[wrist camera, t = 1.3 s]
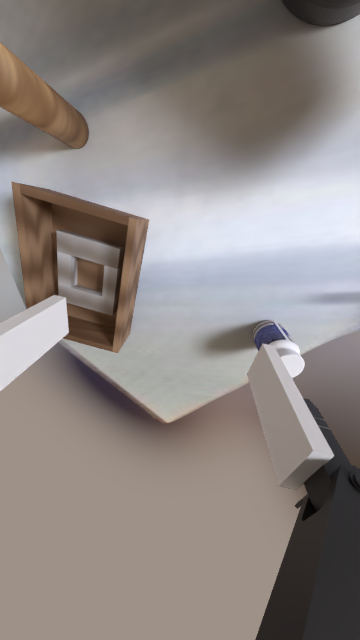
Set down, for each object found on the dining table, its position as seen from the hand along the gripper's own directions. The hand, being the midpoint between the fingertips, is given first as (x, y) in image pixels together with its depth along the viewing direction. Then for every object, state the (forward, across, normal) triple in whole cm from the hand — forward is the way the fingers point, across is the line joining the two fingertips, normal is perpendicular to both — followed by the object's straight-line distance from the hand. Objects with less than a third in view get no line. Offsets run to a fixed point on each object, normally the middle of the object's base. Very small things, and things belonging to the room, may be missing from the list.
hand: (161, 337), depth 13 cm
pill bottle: (+23, +18, -9) cm, 31 cm away
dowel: (+23, -19, +14) cm, 33 cm away
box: (+22, -16, -5) cm, 28 cm away
